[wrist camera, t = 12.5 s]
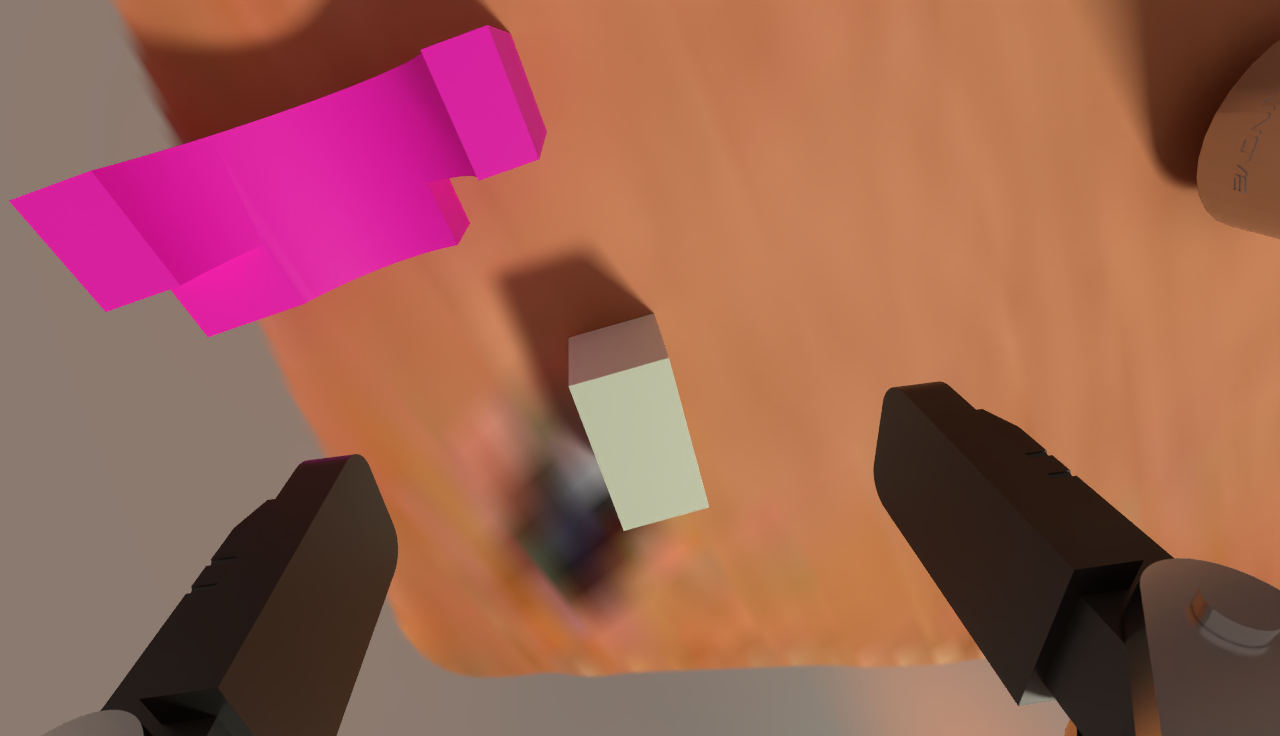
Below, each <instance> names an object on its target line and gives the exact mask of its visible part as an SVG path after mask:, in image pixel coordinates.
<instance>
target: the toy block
mask: <svg viewBox="0 0 1280 736" xmlns="http://www.w3.org/2000/svg"><path fill="white" fill-rule="evenodd" d="M546 133H547V131H546V128H545V126H544V123H543V120H542V117H541V115H540V112H539V109H538V107H537V104H536V101H535V98H534V96H533V93H532V90H531V88H530V85H529V82H528V79H527V77H526V74H525V71H524V68H523V66H522V63H521V60H520V58H519V55H518V52H517V49H516V47H515V44H514V41H513V39H512V36H511V33H508V32H505V31H503V30H500V29H497V28H494V27H492V26H489V25H486V26H484V27H481V28H478V29H475V30H473V31H470V32H467V33H464V34H462V35H459V36H456V37H454V38H451V39H448V40H445V41H443V42H440V43H437V44H435V45H432V46H429V47H426V48H424V49H421V53H420V54H419V55H418V56H417V57H415V58H413V59H412V60H410V61H408V62H406V63H404V64H402V65H400V66H398V67H396V68H394V69H392V70H389V71H387V72H385V73H383V74H380V75H378V76H376V77H373V78H371V79H368V80H366V81H364V82H361V83H359V84H356V85H354V86H351V87H348V88H346V89H343V90H341V91H338V92H335V93H333V94H330V95H327V96H325V97H322V98H319V99H317V100H314V101H311V102H308V103H306V104H303V105H300V106H297V107H294V108H292V109H289V110H286V111H283V112H280V113H277V114H274V115H272V116H269V117H266V118H263V119H260V120H257V121H254V122H251V123H248V124H245V125H242V126H239V127H236V128H233V129H230V130H227V131H224V132H221V133H217V134H214V135H211V136H208V137H205V138H202V139H199V140H195V141H192V142H189V143H186V144H182V145H179V146H176V147H173V148H169V149H166V150H163V151H159V152H156V153H153V154H149V155H146V156H142V157H139V158H136V159H132V160H128V161H125V162H122V163H118V164H114V165H110V166H107V167H103V168H99V169H96V170H92V171H89V172H86V173H83V174H81V175H78V176H75V177H72V178H70V179H67V180H64V181H62V182H59V183H56V184H54V185H51V186H48V187H45V188H42V189H40V190H37V191H34V192H32V193H29V194H26V195H23V196H21V197H18V198H16V199H12V200H10V203H11V204H12V205H13V206H14V207H15V208H16V210H17V211H18V212H19V213H20V214H21V215H22V216H23V217H24V219H25V220H26V221H27V222H28V223H29V224H30V225H31V227H32V228H33V229H34V230H35V231H36V232H37V234H38V235H39V236H40V237H41V238H42V239H43V241H44V242H45V243H46V244H47V245H48V246H49V247H50V248H51V250H52V251H53V252H54V253H55V254H56V255H57V256H58V258H59V259H60V260H61V261H62V262H63V263H64V265H65V266H66V267H67V268H68V269H69V270H70V272H71V273H72V274H73V275H74V276H75V277H76V278H77V280H78V281H79V282H80V283H81V284H82V285H83V286H84V288H85V289H86V290H87V291H88V292H89V293H90V294H91V296H92V297H93V298H94V299H95V300H96V301H97V303H99V305H100V306H101V307H102V308H103V309H104V311H105V312H107V311H110V310H113V309H116V308H118V307H121V306H124V305H127V304H130V303H133V302H135V301H138V300H141V299H144V298H147V297H150V296H153V295H155V294H158V293H161V292H164V291H167V290H169V289H170V290H171V291H172V292H173V293H174V295H175V296H176V297H177V299H178V300H179V301H180V302H181V304H182V305H183V306H184V307H185V309H186V310H187V311H188V312H189V314H190V315H191V316H192V317H193V319H194V320H195V321H196V323H197V324H198V325H199V326H200V328H201V329H202V330H203V331H204V333H205V334H206V335H207V337H210V336H213V335H216V334H219V333H221V332H224V331H227V330H230V329H233V328H236V327H239V326H241V325H245V324H247V323H250V322H253V321H256V320H259V319H262V318H265V317H268V316H271V315H273V314H276V313H279V312H282V311H285V310H288V309H291V308H294V307H297V306H299V305H302V304H305V303H306V302H308V301H310V300H312V299H314V298H316V297H318V296H320V295H322V294H324V293H326V292H328V291H330V290H332V289H334V288H337V287H339V286H341V285H343V284H345V283H347V282H350V281H352V280H354V279H356V278H359V277H361V276H363V275H366V274H368V273H370V272H373V271H375V270H378V269H381V268H383V267H386V266H388V265H391V264H394V263H396V262H399V261H402V260H405V259H408V258H411V257H414V256H417V255H420V254H424V253H427V252H430V251H434V250H438V249H442V248H446V247H450V246H455V245H458V243H459V241H460V240H461V238H462V236H463V235H464V233H465V231H466V229H467V228H468V226H469V224H470V222H469V220H468V218H467V216H466V214H465V212H464V209H463V207H462V205H461V203H460V201H459V199H458V197H457V194H456V192H455V190H454V188H453V186H452V184H451V182H450V180H449V178H453V177H459V176H475V177H477V178H478V181H479V180H482V179H485V178H487V177H490V176H493V175H496V174H499V173H502V172H504V171H507V170H510V169H513V168H516V167H519V166H522V165H524V164H527V163H530V162H533V161H536V160H539V158H540V154H541V151H542V147H543V143H544V140H545V136H546Z"/></svg>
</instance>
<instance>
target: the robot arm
mask: <svg viewBox="0 0 1280 736" xmlns="http://www.w3.org/2000/svg"><path fill="white" fill-rule="evenodd" d="M1197 185H1198V192H1199V197H1200V199H1201V201H1202V203H1203V205H1204V207H1205V209H1206V211H1207V212H1208V213H1209V214H1210V215H1212V216H1213V217H1214V218H1215V219H1216V220H1217V221H1219V222H1222V223H1224V224H1226V225H1229V226H1232V227H1235V228H1239V229H1243V230H1247V231H1251V232H1255V233H1258V234H1262V235H1266V236H1270V237H1274V238H1278V239H1280V40H1279V41H1277V42H1276V43H1274V44H1273V45H1272V46H1271V47H1270V48H1269V49H1268V50H1267V51H1266V52H1265V53H1263V54H1262V55H1261V56H1260V57H1259V58H1258V59H1257V60H1256V61H1255V62H1254V63H1253V64H1252V65H1251V66H1250V67H1249V68H1248V69H1247V71H1246V72H1245V73H1244V74H1243V75H1242V77H1241V78H1240V79H1239V80H1238V81H1237V83H1236V84H1235V85H1234V86H1233V87H1232V89H1231V90H1230V92H1229V93H1228V95H1227V96H1226V98H1225V100H1224V101H1223V103H1222V104H1221V106H1220V107H1219V109H1218V110H1217V112H1216V114H1215V116H1214V118H1213V120H1212V122H1211V125H1210V127H1209V129H1208V131H1207V133H1206V135H1205V138H1204V141H1203V145H1202V148H1201V152H1200V155H1199V159H1198V169H1197ZM1046 451H1047V450H1045V449H1044V448H1043V447H1042V446H1041V445H1040V444H1038V443H1037V442H1036V441H1035V440H1034V439H1032V438H1031V437H1030V436H1029V435H1028V434H1027V433H1025V432H1024V431H1023V430H1022V429H1021V428H1019V427H1018V426H1016V425H1014V424H1012V423H1010V422H1008V421H1006V420H1004V419H1002V418H999V417H997V416H995V415H993V414H991V413H989V412H987V411H985V410H983V409H979V410H976V409H975V408H974V407H972V406H971V405H970V404H969V403H968V402H967V401H966V400H965V399H963V398H962V397H961V396H960V395H959V394H958V393H957V392H956V391H954V390H953V389H952V388H951V387H950V386H949V385H947V384H946V383H944V382H932V383H924V384H916V385H908V386H901V387H893V388H890V389H889V390H888V391H887V392H886V394H885V396H884V400H883V405H882V412H881V419H880V426H879V433H878V440H877V447H876V454H875V461H874V480H875V485H876V490H877V493H878V496H879V498H880V500H881V502H882V504H883V506H884V508H885V509H886V511H887V512H888V514H889V515H890V517H891V518H892V520H893V521H894V522H895V524H896V525H897V527H898V528H899V530H900V531H901V533H902V534H903V536H904V537H905V539H906V540H907V542H908V543H909V545H910V546H911V548H912V549H913V551H914V552H915V554H916V555H917V557H918V558H919V559H920V561H921V562H922V564H923V565H924V567H925V568H926V570H927V571H928V573H929V574H930V576H931V577H932V579H933V580H934V582H935V583H936V585H937V586H938V588H939V589H940V591H941V592H942V594H943V595H944V597H945V598H946V599H947V601H948V602H949V604H950V605H951V607H952V608H953V610H954V611H955V613H956V614H957V616H958V617H959V619H960V620H961V622H962V623H963V625H964V626H965V628H966V629H967V631H968V632H969V634H970V635H971V636H972V638H973V639H974V641H975V642H976V644H977V645H978V647H979V648H980V650H981V651H982V653H983V654H984V656H985V657H986V659H987V660H988V662H989V663H990V664H991V666H992V668H993V669H994V671H995V672H996V674H997V675H998V676H999V678H1000V679H1001V681H1002V682H1003V684H1004V685H1005V687H1006V688H1007V690H1008V691H1009V693H1010V694H1011V696H1012V697H1013V699H1014V700H1015V702H1016V703H1017V705H1018V706H1022V705H1029V704H1035V703H1042V702H1047V701H1055V700H1057V702H1058V703H1059V704H1060V706H1061V707H1062V709H1063V710H1064V711H1065V713H1066V714H1067V715H1068V717H1069V718H1070V720H1069V722H1068V724H1067V727H1066V729H1065V736H1280V590H1278V589H1277V588H1275V587H1273V586H1271V585H1270V584H1268V583H1266V582H1264V581H1262V580H1259V579H1257V578H1255V577H1253V576H1251V575H1248V574H1246V573H1243V572H1241V571H1238V570H1236V569H1233V568H1229V567H1226V566H1223V565H1220V564H1216V563H1211V562H1207V561H1202V560H1195V559H1181V558H1173V557H1172V556H1171V555H1170V554H1168V553H1167V552H1166V551H1165V550H1164V549H1163V548H1161V547H1160V546H1159V545H1158V544H1157V543H1155V542H1154V541H1153V540H1152V539H1151V538H1150V537H1148V536H1147V535H1146V534H1145V533H1144V532H1142V531H1141V530H1140V529H1139V528H1138V527H1137V526H1135V525H1134V524H1133V523H1132V522H1131V521H1129V520H1128V519H1127V518H1126V517H1125V516H1123V515H1122V514H1121V513H1120V512H1119V511H1118V510H1116V509H1115V508H1114V507H1113V506H1112V505H1110V504H1109V503H1108V502H1107V501H1106V500H1105V499H1103V498H1102V497H1101V496H1100V495H1099V494H1097V493H1096V492H1095V491H1094V490H1093V489H1092V488H1090V487H1089V486H1088V485H1087V484H1086V483H1084V482H1083V481H1082V480H1081V479H1080V478H1079V477H1077V476H1071V474H1070V470H1069V469H1068V468H1067V467H1066V466H1064V465H1063V464H1062V463H1061V462H1060V461H1058V460H1057V459H1056V458H1055V457H1054V456H1053V455H1050V456H1048V455H1047V453H1046ZM397 558H398V543H397V535H396V531H395V528H394V525H393V523H392V520H391V518H390V515H389V513H388V511H387V508H386V506H385V503H384V501H383V498H382V496H381V493H380V491H379V489H378V486H377V484H376V481H375V479H374V476H373V474H372V471H371V469H370V467H369V464H368V463H367V461H366V460H365V458H364V457H362V456H361V455H358V454H355V455H347V456H339V457H331V458H323V459H315V460H309V461H308V460H307V461H304V462H302V463H301V464H300V465H299V466H298V467H297V468H296V469H295V471H294V472H293V474H292V475H291V477H290V478H289V480H288V481H287V483H286V484H285V486H284V487H283V488H282V490H281V491H280V493H279V494H278V496H277V497H276V499H272V500H267V501H266V502H265V503H263V504H262V505H261V506H260V507H259V508H258V509H256V510H255V511H254V512H253V513H252V514H250V515H249V516H248V517H247V518H245V519H244V520H243V521H242V522H241V523H239V524H238V525H237V526H236V527H235V528H234V529H233V530H232V531H231V533H230V534H229V535H228V537H227V538H226V540H225V541H224V543H223V544H222V545H221V547H220V548H219V549H218V551H217V552H216V553H215V555H214V556H213V557H212V559H211V561H212V563H211V566H206V567H205V569H204V570H203V571H202V573H201V574H200V575H199V577H198V578H197V579H196V581H195V582H194V584H193V585H192V592H191V593H189V594H186V595H185V596H184V597H183V599H182V600H181V601H180V603H179V604H178V605H177V607H176V609H175V610H174V611H173V612H172V614H171V615H170V616H169V618H168V619H167V621H166V622H165V623H164V625H163V626H162V628H161V629H160V630H159V632H158V633H157V634H156V636H155V637H154V638H153V640H152V641H151V643H150V644H149V645H148V647H147V648H146V649H145V651H144V652H143V654H142V655H141V656H140V658H139V659H138V661H137V662H136V663H135V665H134V666H133V667H132V669H131V670H130V671H129V673H128V674H127V676H126V677H125V678H124V680H123V681H122V682H121V684H120V685H119V687H118V688H117V689H116V691H115V692H114V694H113V695H112V696H111V697H110V699H109V700H108V702H107V703H106V704H105V706H104V707H103V708H102V709H101V711H99V712H94V713H91V714H87V715H84V716H81V717H78V718H76V719H73V720H71V721H69V722H66V723H64V724H62V725H60V726H58V727H56V728H54V729H53V730H51V731H49V732H47V733H45V734H44V735H42V736H336V735H337V732H338V730H339V727H340V724H341V721H342V718H343V715H344V712H345V710H346V707H347V704H348V702H349V699H350V696H351V693H352V690H353V687H354V684H355V682H356V679H357V676H358V673H359V671H360V668H361V665H362V662H363V659H364V656H365V654H366V650H367V648H368V645H369V642H370V640H371V637H372V634H373V631H374V628H375V626H376V623H377V620H378V617H379V614H380V611H381V609H382V606H383V603H384V600H385V598H386V595H387V592H388V589H389V586H390V583H391V581H392V578H393V575H394V572H395V569H396V564H397Z"/></svg>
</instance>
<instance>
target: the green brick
mask: <svg viewBox="0 0 1280 736" xmlns="http://www.w3.org/2000/svg"><path fill="white" fill-rule="evenodd" d="M568 339H569V389H570V392H571V394H572V397H573V399H574V402H575V405H576V407H577V410H578V412H579V415H580V418H581V420H582V423H583V425H584V428H585V431H586V433H587V436H588V438H589V441H590V444H591V446H592V449H593V452H594V454H595V457H596V459H597V462H598V465H599V467H600V470H601V472H602V475H603V478H604V480H605V483H606V485H607V488H608V491H609V493H610V496H611V498H612V501H613V504H614V506H615V509H616V512H617V514H618V517H619V519H620V522H621V525H622V527H623V530H624V531H625V530H629V529H632V528H636V527H639V526H643V525H647V524H650V523H654V522H658V521H661V520H665V519H668V518H672V517H676V516H679V515H683V514H687V513H690V512H694V511H697V510H701V509H705V508H708V507H709V505H708V501H707V498H706V494H705V490H704V487H703V483H702V479H701V475H700V472H699V468H698V464H697V461H696V457H695V453H694V449H693V446H692V442H691V438H690V435H689V431H688V427H687V423H686V420H685V416H684V412H683V409H682V405H681V401H680V398H679V394H678V390H677V386H676V383H675V379H674V375H673V372H672V368H671V364H670V360H669V357H668V354H667V351H666V348H665V345H664V342H663V339H662V336H661V333H660V330H659V327H658V324H657V321H656V318H655V315H654V313H653V314H650V315H646V316H643V317H639V318H636V319H632V320H629V321H625V322H622V323H618V324H615V325H611V326H608V327H604V328H601V329H597V330H594V331H590V332H587V333H583V334H580V335H576V336H573V337H569V338H568Z"/></svg>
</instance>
